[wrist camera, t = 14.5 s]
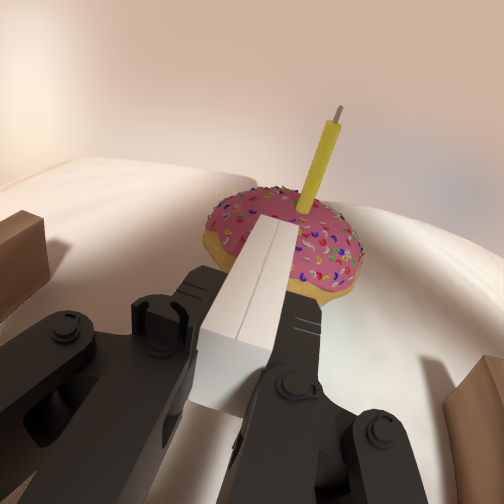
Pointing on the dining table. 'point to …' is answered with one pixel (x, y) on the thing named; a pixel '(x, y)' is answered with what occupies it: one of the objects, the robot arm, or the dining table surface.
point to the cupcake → (309, 234)
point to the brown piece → (455, 406)
